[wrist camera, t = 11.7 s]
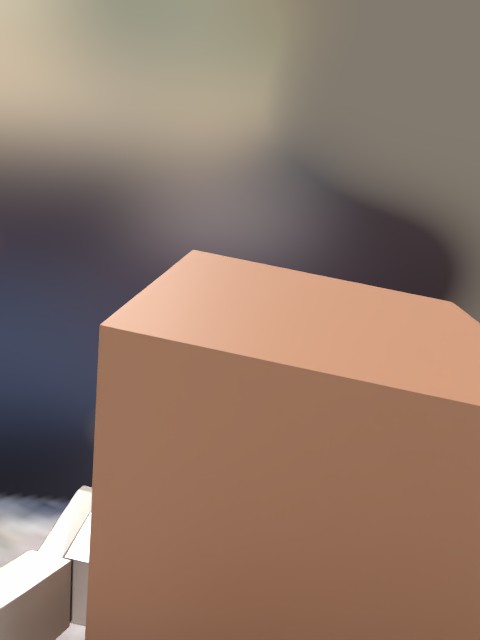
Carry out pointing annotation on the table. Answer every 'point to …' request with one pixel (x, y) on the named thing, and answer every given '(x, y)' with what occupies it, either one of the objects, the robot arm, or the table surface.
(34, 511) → the table surface
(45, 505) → the table surface
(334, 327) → the orange rectangular block
